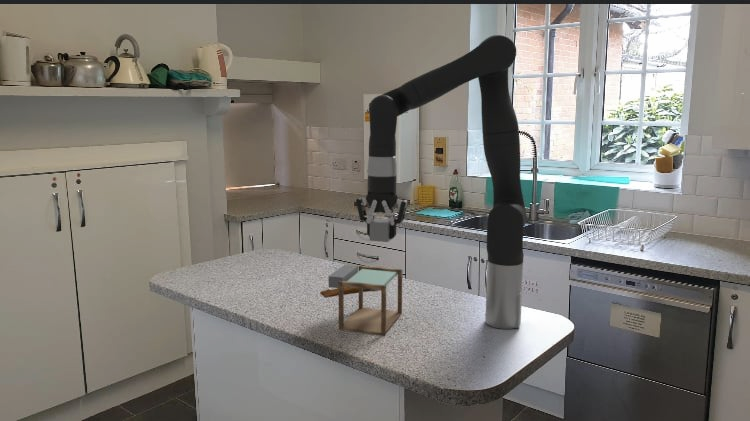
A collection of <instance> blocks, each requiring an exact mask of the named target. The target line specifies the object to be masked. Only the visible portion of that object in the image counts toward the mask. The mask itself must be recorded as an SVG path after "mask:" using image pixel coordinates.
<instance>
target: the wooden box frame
mask: <svg viewBox="0 0 750 421" xmlns="http://www.w3.org/2000/svg"><path fill="white" fill-rule="evenodd" d="M362 269H370V270H381V271H392V272H397V310H387V286H386V285H377V284H367V283H357V282H347V281H339V282H338V287H339V295H338V330H339V331H347V332H356V333H361V334H370V335H377V336H386V335H387V334H388V332H389V331H390V330H391V328H392V327H393V326H394V324H395V323H397V321H398V320H399V318H400V317H401V316H402V315H403V269H402V268H391V267H382V266H381V267H379V266H372V265H371V266H369V265H368V266H367V265H358V272H359V271H360V270H362ZM344 287H350V288H359V292H358V308H357V309H356V310H355V311H354V312H353V313H352V314H351V315H350V316H349V317H348V318H347V319H345V317H344V315H345V314H344V311H345V310H344V309H345V307H344V295H345V294H344ZM363 289H369V290H368V291H370V290H371V291H380V294H381V295H380V297H381V298H380V299H381V300H380V301H381V302H380V303H381V307H380V308H372V307H371V308H370V307H364V291H363ZM344 319H345V320H344Z"/></svg>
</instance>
